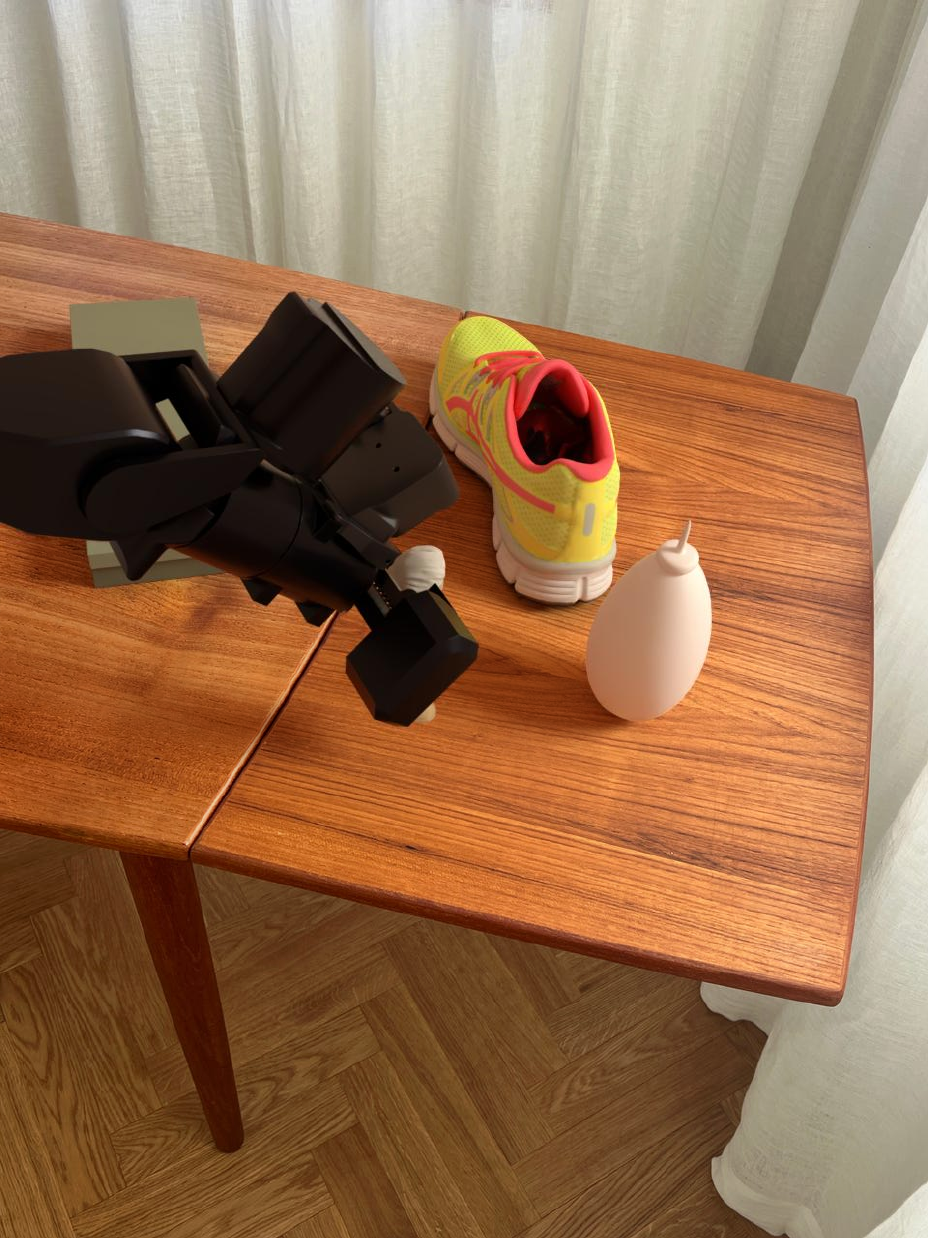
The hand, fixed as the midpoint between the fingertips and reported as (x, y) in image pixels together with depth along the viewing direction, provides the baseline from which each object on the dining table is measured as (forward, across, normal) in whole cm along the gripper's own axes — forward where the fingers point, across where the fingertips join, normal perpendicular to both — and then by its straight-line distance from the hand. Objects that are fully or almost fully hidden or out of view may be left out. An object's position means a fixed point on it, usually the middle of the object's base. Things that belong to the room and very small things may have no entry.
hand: (434, 608), depth 67 cm
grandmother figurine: (+4, 0, +6) cm, 7 cm away
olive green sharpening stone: (+5, +36, +13) cm, 38 cm away
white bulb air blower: (+20, -4, -2) cm, 20 cm away
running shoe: (+23, +20, -5) cm, 31 cm away
